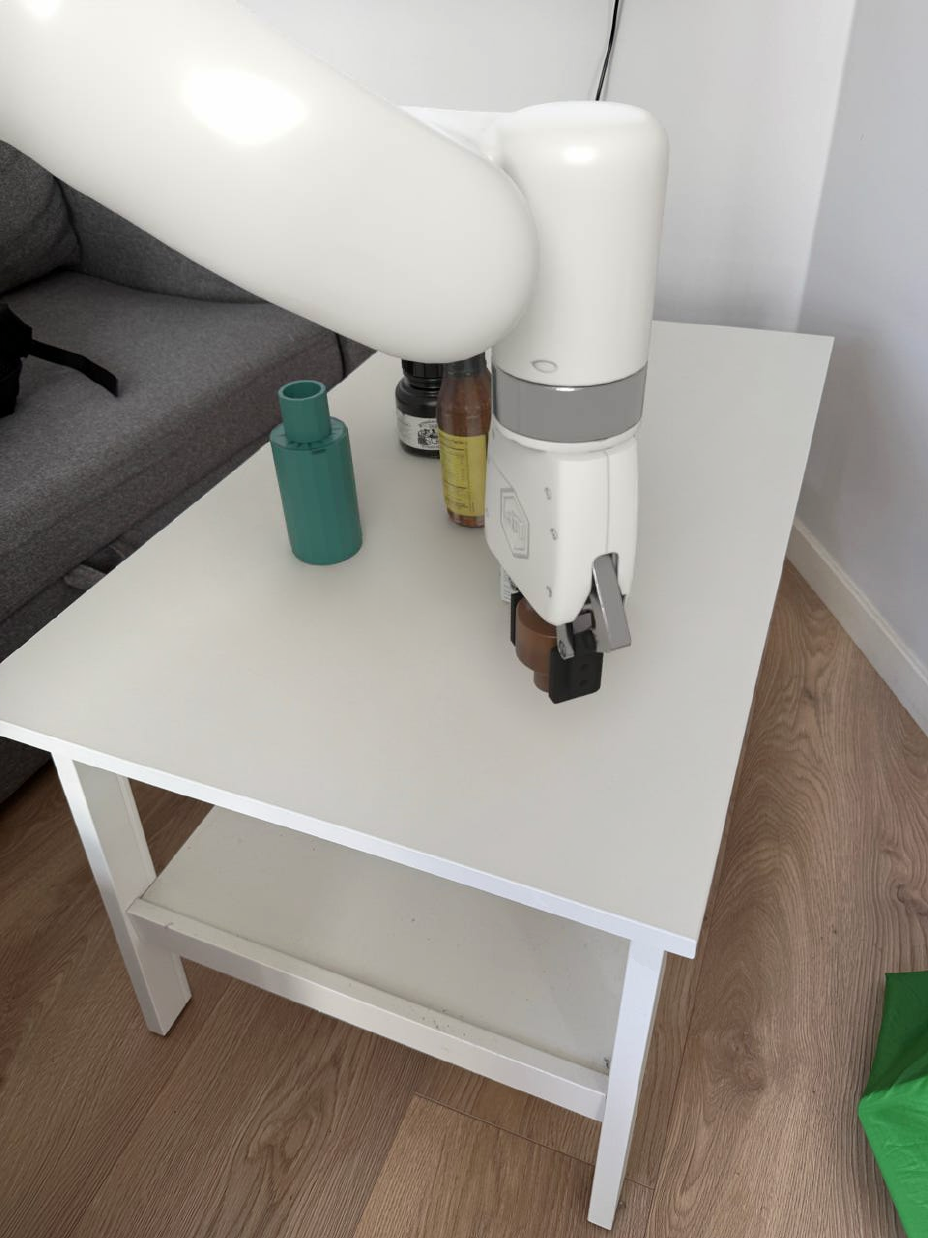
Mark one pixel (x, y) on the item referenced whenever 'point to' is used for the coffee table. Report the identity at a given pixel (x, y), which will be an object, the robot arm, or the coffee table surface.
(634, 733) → the coffee table surface
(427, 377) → the ink bottle
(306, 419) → the bottle
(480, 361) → the sauce bottle
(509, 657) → the coffee table surface
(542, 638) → the stopper
